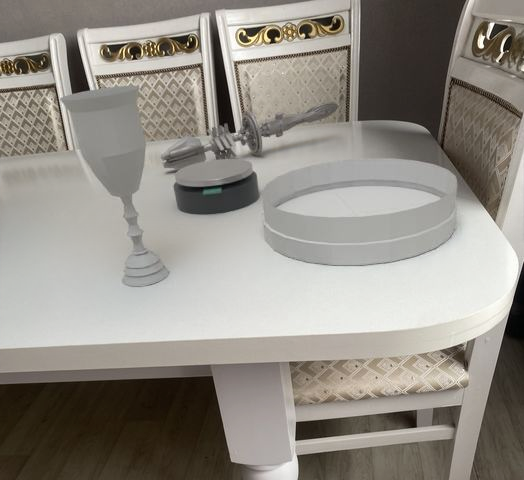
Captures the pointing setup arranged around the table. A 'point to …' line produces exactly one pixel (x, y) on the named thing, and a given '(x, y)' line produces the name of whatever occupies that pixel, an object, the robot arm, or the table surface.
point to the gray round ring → (360, 211)
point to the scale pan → (213, 172)
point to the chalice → (117, 162)
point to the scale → (217, 196)
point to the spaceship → (240, 136)
